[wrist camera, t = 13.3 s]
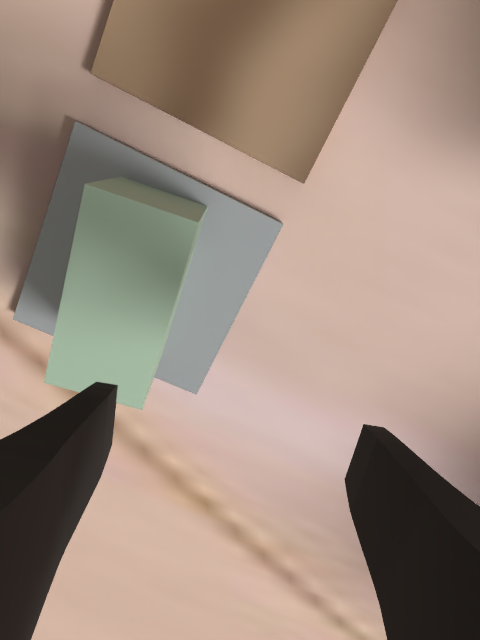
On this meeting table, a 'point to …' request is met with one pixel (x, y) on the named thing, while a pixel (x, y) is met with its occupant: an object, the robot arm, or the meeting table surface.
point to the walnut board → (245, 67)
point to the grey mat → (204, 270)
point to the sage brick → (122, 287)
